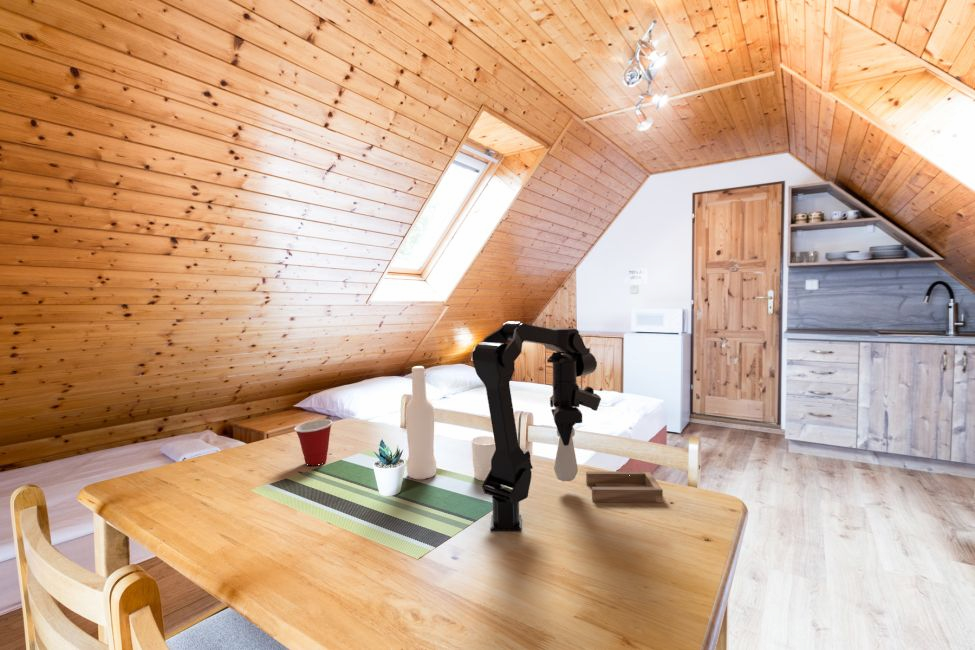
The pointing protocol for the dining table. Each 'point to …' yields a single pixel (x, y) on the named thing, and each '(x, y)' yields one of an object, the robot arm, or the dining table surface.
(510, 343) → the robot arm
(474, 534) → the dining table surface
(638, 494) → the rest
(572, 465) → the salt shaker
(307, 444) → the plastic cup
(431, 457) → the bottle
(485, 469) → the white cup
